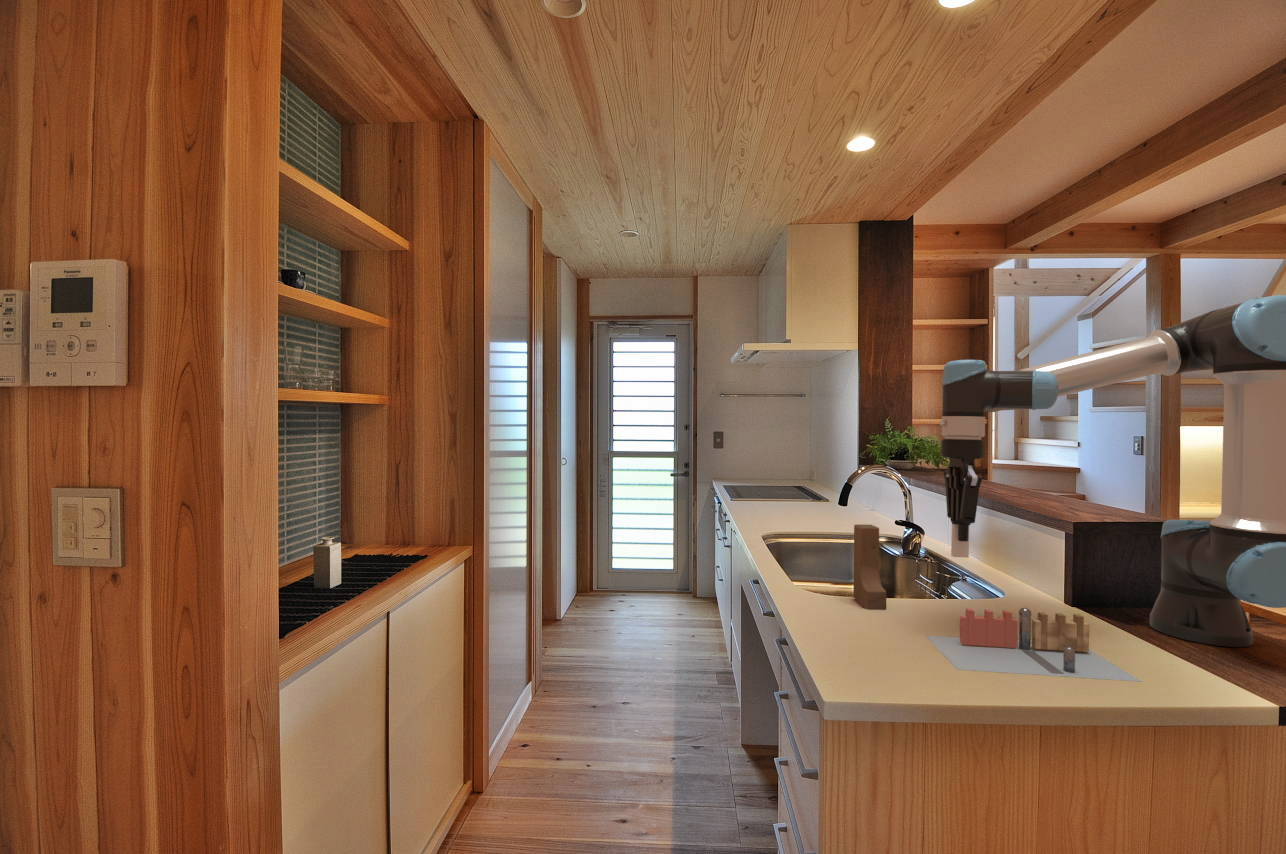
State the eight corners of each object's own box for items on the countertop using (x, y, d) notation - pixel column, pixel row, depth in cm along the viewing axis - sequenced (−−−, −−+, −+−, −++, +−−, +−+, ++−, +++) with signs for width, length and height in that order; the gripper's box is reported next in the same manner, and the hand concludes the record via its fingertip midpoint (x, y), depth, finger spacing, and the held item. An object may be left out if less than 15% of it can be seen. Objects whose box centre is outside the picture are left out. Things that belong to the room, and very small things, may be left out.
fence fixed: (1084, 649, 107) (1085, 614, 107) (1089, 652, 105) (1089, 617, 105) (1031, 646, 108) (1031, 611, 108) (1035, 649, 107) (1035, 614, 107)
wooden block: (887, 611, 130) (887, 531, 130) (866, 611, 130) (867, 530, 130) (871, 599, 139) (872, 524, 139) (852, 599, 139) (853, 524, 139)
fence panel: (1014, 645, 109) (1014, 610, 109) (1017, 648, 107) (1018, 613, 107) (959, 641, 110) (960, 608, 110) (962, 644, 109) (963, 610, 109)
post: (1027, 647, 108) (1028, 606, 108) (1033, 651, 107) (1033, 609, 107) (1016, 646, 109) (1016, 605, 109) (1021, 650, 107) (1021, 609, 107)
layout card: (1082, 646, 110) (1082, 644, 110) (1142, 684, 94) (1142, 681, 94) (925, 637, 114) (925, 635, 114) (957, 671, 98) (957, 669, 98)
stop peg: (1071, 669, 99) (1071, 645, 99) (1077, 673, 97) (1077, 649, 97) (1061, 668, 99) (1061, 645, 99) (1066, 672, 97) (1067, 648, 97)
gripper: (931, 437, 123) (928, 548, 123) (955, 438, 110) (952, 563, 110) (969, 438, 122) (966, 550, 122) (997, 439, 109) (994, 565, 109)
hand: (959, 556), depth 116 cm, fingers closed
